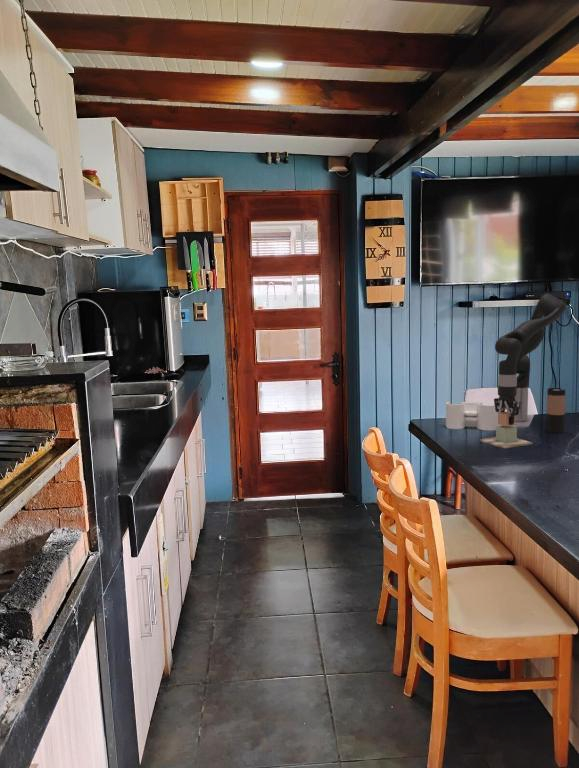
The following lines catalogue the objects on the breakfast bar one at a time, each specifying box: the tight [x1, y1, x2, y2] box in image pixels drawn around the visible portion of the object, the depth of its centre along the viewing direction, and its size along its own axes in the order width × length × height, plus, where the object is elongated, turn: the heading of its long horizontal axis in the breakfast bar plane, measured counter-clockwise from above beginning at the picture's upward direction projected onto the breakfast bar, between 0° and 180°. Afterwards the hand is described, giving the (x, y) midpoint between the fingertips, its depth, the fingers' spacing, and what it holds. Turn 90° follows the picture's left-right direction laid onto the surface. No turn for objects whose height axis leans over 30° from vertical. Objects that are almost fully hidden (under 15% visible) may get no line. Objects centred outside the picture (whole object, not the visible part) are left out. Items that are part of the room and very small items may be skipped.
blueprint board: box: [480, 436, 533, 449], centre depth 247 cm, size 15×15×1 cm
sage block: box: [495, 425, 518, 443], centre depth 246 cm, size 6×6×6 cm
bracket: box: [445, 401, 501, 431], centre depth 276 cm, size 25×10×12 cm, turn 73°
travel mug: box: [546, 387, 566, 435], centre depth 261 cm, size 8×8×20 cm
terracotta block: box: [498, 411, 516, 426], centre depth 245 cm, size 5×5×5 cm
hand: (506, 423), depth 245 cm, fingers closed on terracotta block, 5 cm apart
